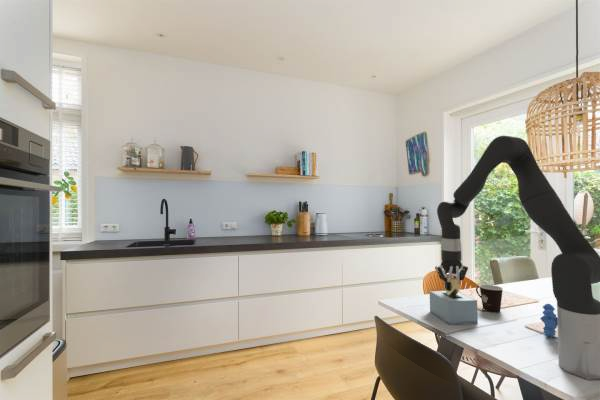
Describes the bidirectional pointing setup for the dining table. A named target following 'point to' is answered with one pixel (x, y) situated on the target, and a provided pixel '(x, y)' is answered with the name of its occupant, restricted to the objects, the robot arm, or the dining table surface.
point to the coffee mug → (490, 297)
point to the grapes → (549, 320)
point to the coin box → (453, 307)
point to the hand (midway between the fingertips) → (451, 290)
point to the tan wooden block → (453, 287)
